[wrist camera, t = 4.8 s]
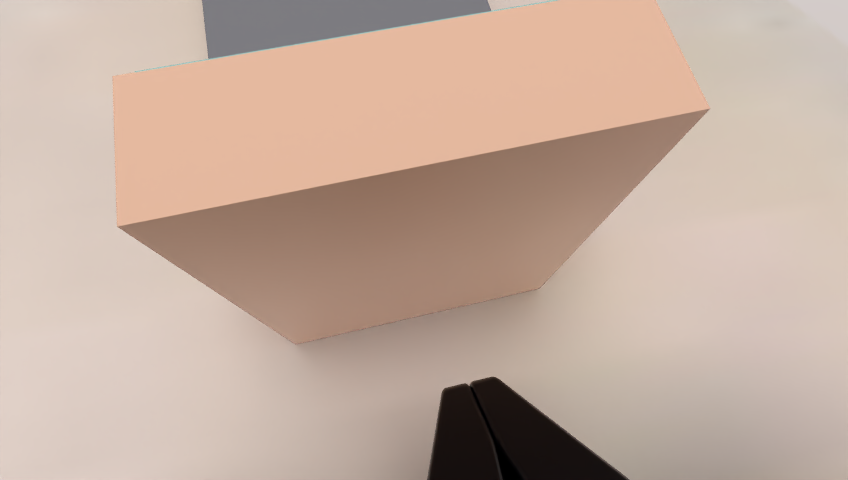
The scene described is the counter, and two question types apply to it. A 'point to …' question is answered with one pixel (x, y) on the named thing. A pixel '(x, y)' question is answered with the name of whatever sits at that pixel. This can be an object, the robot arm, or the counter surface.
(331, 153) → the tile
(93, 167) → the counter surface
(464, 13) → the mat
